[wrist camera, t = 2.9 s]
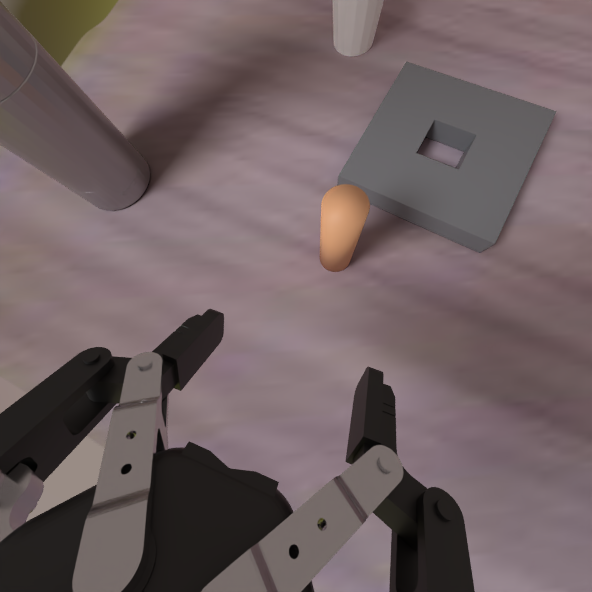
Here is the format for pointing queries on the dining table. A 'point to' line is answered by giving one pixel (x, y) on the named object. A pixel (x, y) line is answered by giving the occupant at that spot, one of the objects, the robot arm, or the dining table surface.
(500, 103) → the peg board
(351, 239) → the peg
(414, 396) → the dining table surface
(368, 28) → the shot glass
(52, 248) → the dining table surface
